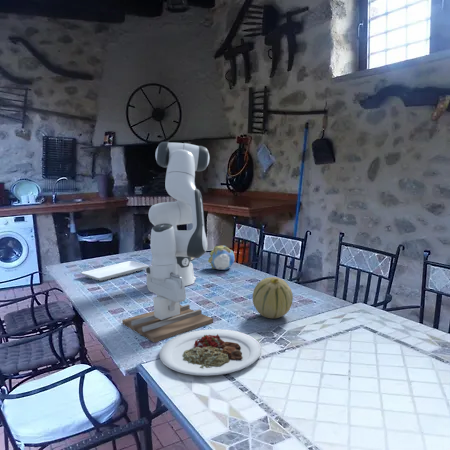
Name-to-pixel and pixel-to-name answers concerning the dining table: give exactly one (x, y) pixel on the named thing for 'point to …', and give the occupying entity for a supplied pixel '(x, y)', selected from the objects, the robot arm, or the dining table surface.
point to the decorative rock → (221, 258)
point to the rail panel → (167, 323)
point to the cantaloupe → (272, 297)
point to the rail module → (164, 308)
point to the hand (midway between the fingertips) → (166, 308)
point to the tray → (114, 270)
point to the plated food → (210, 352)
